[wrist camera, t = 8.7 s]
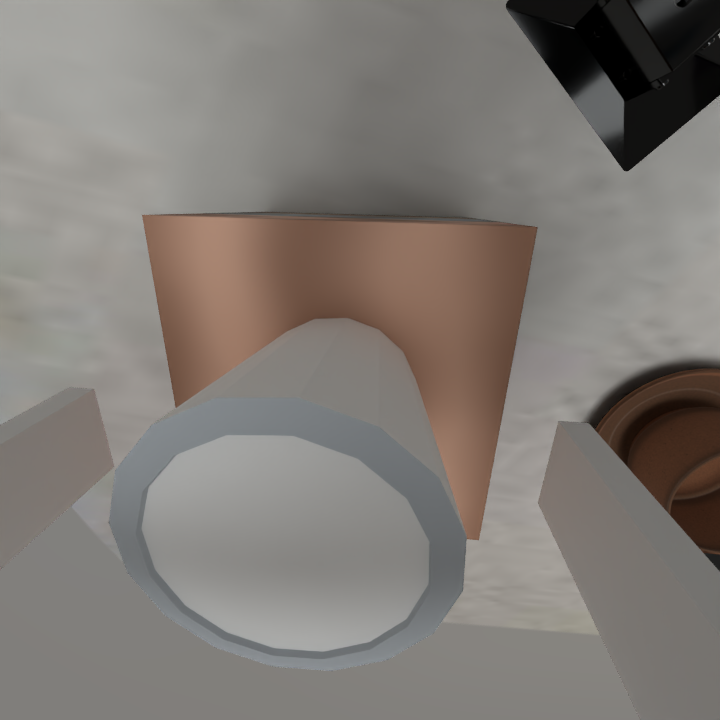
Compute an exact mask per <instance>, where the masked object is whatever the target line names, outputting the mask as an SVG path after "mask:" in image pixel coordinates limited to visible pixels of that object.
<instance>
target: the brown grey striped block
mask: <svg viewBox="0 0 720 720" xmlns="http://www.w3.org/2000/svg"><path fill="white" fill-rule="evenodd" d="M142 217H143V223H144V228H145V234H146V240H147V245H148V251H149V257H150V263H151V268H152V274H153V280H154V286H155V291H156V297H157V303H158V308H159V314H160V320H161V326H162V331H163V337H164V343H165V349H166V354H167V360H168V366H169V371H170V377H171V383H172V389H173V394H174V400H175V406H176V408H177V407H178V406H180V405H181V404H183V403H184V402H185V401H187V400H188V399H190V398H191V397H193V396H194V395H196V394H197V393H198V392H200V391H201V390H203V389H204V388H206V387H207V386H209V385H210V384H212V383H213V382H214V381H216V380H217V379H219V378H220V377H222V376H223V375H225V374H226V373H227V372H229V371H230V370H232V369H233V368H235V367H236V366H238V365H239V364H240V363H242V362H243V361H245V360H246V359H248V358H249V357H251V356H252V355H253V354H255V353H256V352H258V351H259V350H261V349H262V348H264V347H265V346H267V345H268V344H269V343H271V342H272V341H274V340H275V339H277V338H278V337H280V336H281V335H282V334H284V333H285V332H287V331H289V330H291V329H293V328H296V327H298V326H300V325H302V324H305V323H307V322H309V321H311V320H313V319H327V318H349V319H352V320H355V321H357V322H360V323H363V324H365V325H368V326H371V327H373V328H376V329H379V330H380V331H381V332H382V333H383V334H384V335H386V336H387V337H388V338H389V339H390V340H391V341H392V342H393V343H394V344H395V345H397V346H398V347H399V348H400V349H401V350H402V351H403V352H404V355H405V357H406V359H407V361H408V363H409V366H410V368H411V370H412V372H413V374H414V376H415V379H416V382H417V385H418V388H419V391H420V394H421V397H422V400H423V403H424V406H425V409H426V412H427V415H428V419H429V422H430V425H431V428H432V431H433V434H434V437H435V440H436V443H437V446H438V449H439V452H440V455H441V459H442V462H443V465H444V468H445V471H446V474H447V477H448V480H449V483H450V486H451V489H452V492H453V495H454V498H455V502H456V505H457V508H458V511H459V514H460V517H461V520H462V523H463V526H464V529H465V532H466V535H467V539H472V540H479V536H480V531H481V526H482V520H483V515H484V510H485V504H486V499H487V494H488V488H489V483H490V478H491V472H492V467H493V462H494V456H495V451H496V446H497V440H498V435H499V430H500V425H501V419H502V414H503V409H504V403H505V398H506V393H507V387H508V382H509V377H510V371H511V366H512V361H513V355H514V350H515V345H516V339H517V334H518V329H519V323H520V318H521V313H522V308H523V302H524V297H525V292H526V286H527V281H528V276H529V270H530V265H531V260H532V254H533V249H534V244H535V238H536V233H537V228H538V227H533V226H526V225H518V224H511V223H503V222H496V221H488V220H481V219H473V218H458V217H423V216H389V215H355V214H320V213H286V212H243V213H203V214H163V215H142Z"/></svg>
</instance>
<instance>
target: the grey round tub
mask: <svg viewBox="0 0 720 720" xmlns="http://www.w3.org/2000/svg"><path fill="white" fill-rule="evenodd" d="M109 524H110V527H111V530H112V532H113V535H114V538H115V540H116V543H117V546H118V548H119V551H120V554H121V556H122V559H123V562H124V564H125V567H126V570H127V572H128V574H129V575H130V576H131V577H132V578H133V580H134V581H135V582H136V583H137V584H138V585H139V586H140V587H141V589H142V590H143V591H144V592H145V593H146V594H147V595H148V597H149V598H150V599H151V600H152V601H153V602H154V603H155V605H156V606H157V607H158V608H159V609H160V610H161V611H162V612H163V614H164V615H165V616H166V617H168V618H170V619H171V620H173V621H174V622H176V623H178V624H179V625H181V626H182V627H184V628H185V629H187V630H189V631H190V632H192V633H193V634H195V635H196V636H198V637H200V638H201V639H203V640H204V641H206V642H207V643H209V644H211V645H212V646H214V647H216V648H218V649H221V650H224V651H227V652H230V653H234V654H237V655H240V656H243V657H246V658H249V659H252V660H255V661H258V662H261V663H264V664H267V665H270V666H275V667H287V668H300V669H314V670H326V671H333V670H339V669H344V668H349V667H354V666H359V665H365V664H370V663H375V662H380V661H385V660H388V659H390V658H392V657H393V656H395V655H397V654H399V653H400V652H402V651H404V650H405V649H407V648H409V647H410V646H412V645H414V644H416V643H418V642H419V641H421V640H423V639H424V638H426V637H428V636H430V635H431V634H433V633H434V632H435V630H436V629H437V628H438V626H439V625H440V623H441V622H442V620H443V619H444V617H445V616H446V614H447V613H448V612H449V610H450V609H451V607H452V606H453V604H454V603H455V601H456V600H457V599H458V597H459V596H460V594H461V593H462V591H463V582H464V568H465V554H466V540H467V535H466V532H465V529H464V526H463V523H462V520H461V517H460V514H459V511H458V508H457V505H456V502H455V498H454V495H453V492H452V489H451V486H450V483H449V480H448V477H447V474H446V471H445V468H444V465H443V462H442V459H441V455H440V452H439V449H438V446H437V443H436V440H435V437H434V434H433V431H432V428H431V425H430V422H429V419H428V415H427V412H426V409H425V406H424V403H423V400H422V397H421V394H420V391H419V388H418V385H417V382H416V379H415V376H414V374H413V372H412V370H411V368H410V366H409V363H408V361H407V359H406V357H405V355H404V352H403V351H402V350H401V349H400V348H399V347H398V346H397V345H395V344H394V343H393V342H392V341H391V340H390V339H389V338H388V337H387V336H386V335H384V334H383V333H382V332H381V331H380V330H379V329H376V328H373V327H371V326H368V325H365V324H363V323H360V322H357V321H355V320H352V319H349V318H327V319H313V320H311V321H309V322H307V323H305V324H302V325H300V326H298V327H296V328H293V329H291V330H289V331H287V332H285V333H284V334H282V335H281V336H280V337H278V338H277V339H275V340H274V341H272V342H271V343H269V344H268V345H267V346H265V347H264V348H262V349H261V350H259V351H258V352H256V353H255V354H253V355H252V356H251V357H249V358H248V359H246V360H245V361H243V362H242V363H240V364H239V365H238V366H236V367H235V368H233V369H232V370H230V371H229V372H227V373H226V374H225V375H223V376H222V377H220V378H219V379H217V380H216V381H214V382H213V383H212V384H210V385H209V386H207V387H206V388H204V389H203V390H201V391H200V392H198V393H197V394H196V395H194V396H193V397H191V398H190V399H188V400H187V401H185V402H184V403H183V404H181V405H180V406H178V407H177V408H175V409H174V410H172V411H171V412H170V413H168V414H167V415H165V416H164V417H162V418H161V419H159V420H158V421H156V422H155V423H154V424H152V425H151V426H150V428H149V429H148V430H147V431H146V433H145V434H144V435H143V436H142V438H141V439H140V440H139V441H138V443H137V444H136V445H135V446H134V448H133V449H132V450H131V451H130V453H129V454H128V455H127V456H126V458H125V459H124V460H123V461H122V463H121V464H120V465H119V466H118V468H117V469H116V470H115V477H114V485H113V493H112V501H111V510H110V518H109Z"/></svg>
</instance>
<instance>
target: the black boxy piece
mask: <svg viewBox="0 0 720 720" xmlns="http://www.w3.org/2000/svg"><path fill="white" fill-rule="evenodd" d="M506 9H507V10H508V12H509V13H510V14H511V16H512V17H513V19H514V20H515V21H516V23H517V24H518V25H519V27H520V28H521V30H522V31H523V32H524V34H525V35H526V36H527V38H528V39H529V41H530V42H531V43H532V45H533V46H534V48H535V49H536V50H537V52H538V53H539V54H540V56H541V57H542V59H543V60H544V61H545V63H546V64H547V65H548V67H549V68H550V70H551V71H552V72H553V74H554V75H555V76H556V78H557V79H558V81H559V82H560V83H561V85H562V86H563V87H564V89H565V90H566V92H567V93H568V94H569V96H570V97H571V98H572V100H573V101H574V103H575V104H576V105H577V107H578V108H579V109H580V111H581V112H582V114H583V115H584V116H585V118H586V119H587V121H588V122H589V123H590V125H591V126H592V127H593V129H594V130H595V132H596V133H597V134H598V136H599V137H600V138H601V140H602V141H603V143H604V144H605V145H606V147H607V148H608V149H609V151H610V152H611V154H612V155H613V156H614V158H615V159H616V160H617V162H618V163H619V165H620V166H621V167H622V169H623V170H624V171H629V170H630V169H632V168H633V167H634V166H635V165H636V164H638V163H639V162H640V161H641V160H642V159H644V158H645V157H646V156H647V155H648V154H650V153H651V152H652V151H653V150H654V149H656V148H657V147H658V146H659V145H660V144H662V143H663V142H664V141H665V140H666V139H668V138H669V137H670V136H671V135H672V134H674V133H675V132H676V131H677V130H678V129H680V128H681V127H682V126H683V125H684V124H686V123H687V122H688V121H689V120H690V119H692V118H693V117H694V116H695V115H696V114H698V113H699V112H700V111H701V110H702V109H704V108H705V107H706V106H707V105H708V104H710V103H711V102H712V101H713V100H714V99H716V98H717V97H718V96H719V95H720V38H719V36H718V34H719V33H720V0H508V2H507V4H506Z"/></svg>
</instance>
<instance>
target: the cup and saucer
mask: <svg viewBox="0 0 720 720" xmlns="http://www.w3.org/2000/svg"><path fill="white" fill-rule="evenodd" d="M595 431H596V432H597V433H598V434H599V435H600V436H601V438H602V439H603V440H604V441H605V442H606V443H607V444H608V446H609V447H610V448H611V449H612V450H613V451H614V452H615V453H616V455H617V456H618V457H619V458H620V459H621V460H622V461H623V463H624V464H625V465H626V466H627V467H628V468H629V469H630V470H631V472H632V473H633V474H634V475H635V476H636V477H637V478H638V480H639V481H640V482H641V483H642V484H643V485H644V486H645V488H646V489H647V490H648V491H649V492H650V493H651V494H652V495H653V497H654V498H655V499H656V500H657V501H658V502H659V503H660V505H661V506H662V507H663V508H664V509H665V510H666V511H667V512H668V514H669V515H670V516H671V517H672V518H673V519H674V520H675V522H676V523H677V524H678V525H679V526H680V527H681V528H682V529H683V531H684V532H685V533H686V534H687V535H688V536H689V537H690V539H691V540H692V541H693V542H694V543H695V544H696V545H697V546H698V548H699V549H700V550H701V551H702V552H703V553H709V554H720V369H694V370H687V371H682V372H678V373H673V374H670V375H667V376H664V377H661V378H658V379H656V380H653V381H651V382H649V383H647V384H645V385H643V386H641V387H639V388H638V389H636V390H634V391H633V392H631V393H630V394H628V395H627V396H625V397H624V398H623V399H622V400H620V401H619V402H618V403H617V404H616V405H615V406H614V407H612V408H611V409H610V411H609V412H608V413H607V414H606V415H605V416H604V418H603V419H602V420H601V421H600V423H599V424H598V426H597V428H596V429H595Z"/></svg>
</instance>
